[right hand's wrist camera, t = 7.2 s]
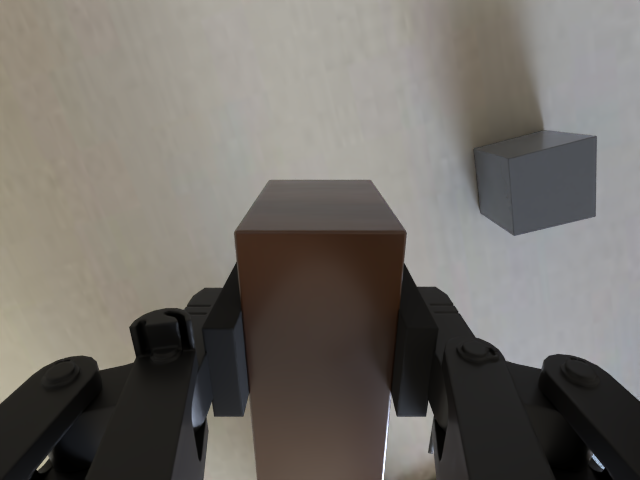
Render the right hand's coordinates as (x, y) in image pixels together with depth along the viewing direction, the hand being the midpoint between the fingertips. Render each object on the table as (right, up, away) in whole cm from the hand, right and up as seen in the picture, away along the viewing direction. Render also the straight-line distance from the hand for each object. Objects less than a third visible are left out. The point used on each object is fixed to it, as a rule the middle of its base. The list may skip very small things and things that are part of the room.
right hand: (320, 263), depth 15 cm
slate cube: (+14, +6, +11) cm, 19 cm away
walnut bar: (0, -8, +3) cm, 9 cm away
